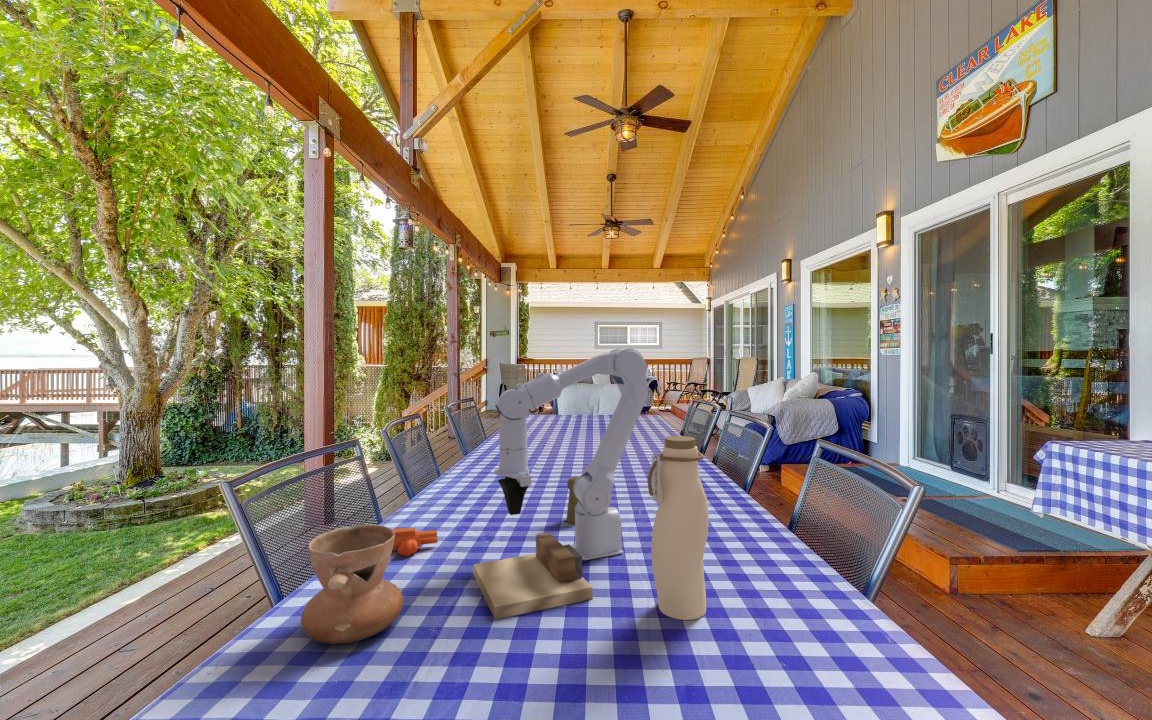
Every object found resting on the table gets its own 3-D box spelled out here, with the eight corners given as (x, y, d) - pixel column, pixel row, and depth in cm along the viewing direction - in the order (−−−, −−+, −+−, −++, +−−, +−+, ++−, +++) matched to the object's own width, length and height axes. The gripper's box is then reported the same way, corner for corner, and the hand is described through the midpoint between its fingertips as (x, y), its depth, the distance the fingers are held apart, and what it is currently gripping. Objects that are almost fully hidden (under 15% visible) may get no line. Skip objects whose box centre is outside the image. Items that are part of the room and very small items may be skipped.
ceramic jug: (390, 655, 71) (389, 554, 71) (280, 665, 69) (278, 562, 69) (413, 595, 89) (412, 515, 88) (326, 602, 86) (325, 519, 86)
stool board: (556, 560, 103) (556, 530, 103) (592, 598, 86) (592, 564, 86) (473, 574, 97) (472, 543, 97) (495, 619, 80) (494, 582, 80)
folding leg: (533, 554, 100) (533, 534, 100) (548, 551, 101) (548, 532, 101) (559, 582, 88) (558, 559, 88) (575, 578, 89) (575, 556, 89)
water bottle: (671, 630, 76) (669, 446, 76) (637, 605, 84) (635, 437, 84) (722, 613, 81) (720, 440, 81) (685, 591, 89) (683, 432, 89)
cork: (587, 525, 124) (587, 480, 124) (563, 523, 125) (563, 479, 125) (591, 517, 130) (591, 474, 130) (569, 516, 131) (568, 474, 131)
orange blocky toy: (437, 519, 113) (379, 524, 109) (436, 541, 106) (375, 547, 103) (437, 538, 114) (381, 543, 111) (437, 560, 107) (377, 567, 104)
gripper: (484, 444, 108) (485, 507, 108) (506, 455, 95) (507, 527, 95) (515, 441, 111) (516, 502, 112) (540, 452, 98) (541, 521, 99)
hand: (514, 513), depth 104 cm, fingers closed
